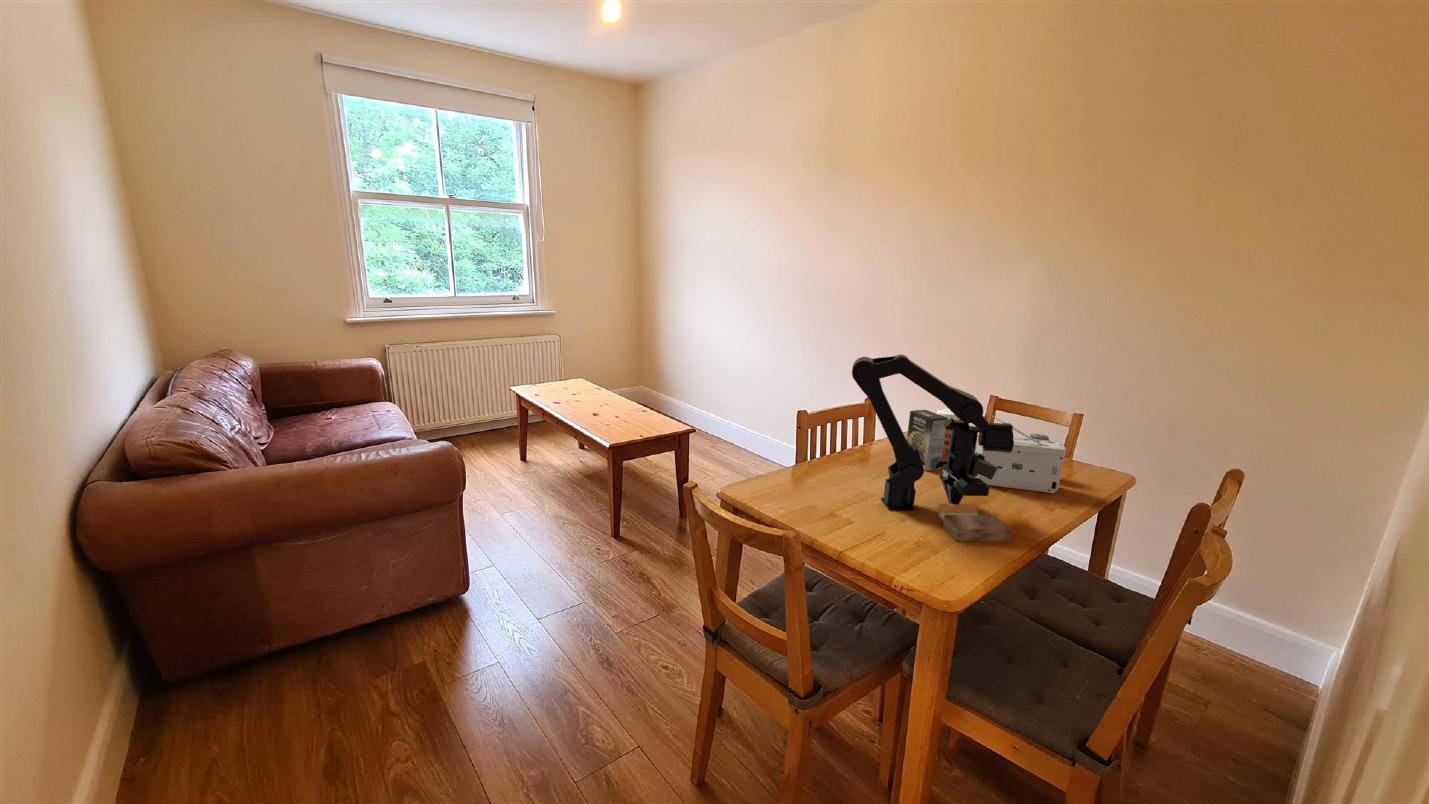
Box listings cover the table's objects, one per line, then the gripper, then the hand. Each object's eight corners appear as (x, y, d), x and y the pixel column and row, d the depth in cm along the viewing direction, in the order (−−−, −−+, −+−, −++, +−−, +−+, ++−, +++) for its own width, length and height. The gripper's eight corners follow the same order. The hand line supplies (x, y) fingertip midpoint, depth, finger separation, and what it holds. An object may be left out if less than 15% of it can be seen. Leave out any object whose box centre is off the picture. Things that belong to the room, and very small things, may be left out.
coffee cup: (925, 457, 179) (931, 410, 175) (937, 451, 185) (943, 406, 181) (951, 464, 173) (958, 416, 169) (963, 458, 179) (969, 412, 175)
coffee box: (902, 461, 174) (909, 410, 170) (918, 459, 177) (925, 408, 173) (925, 471, 166) (932, 418, 162) (941, 468, 169) (948, 416, 165)
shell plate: (952, 530, 131) (954, 518, 130) (937, 515, 138) (939, 503, 138) (990, 530, 131) (992, 518, 130) (973, 515, 139) (975, 503, 138)
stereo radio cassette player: (1051, 485, 159) (1064, 416, 154) (1060, 496, 152) (1074, 424, 147) (971, 475, 165) (981, 408, 160) (975, 486, 157) (986, 416, 152)
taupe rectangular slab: (956, 541, 125) (957, 528, 124) (942, 526, 132) (944, 514, 131) (1009, 541, 126) (1011, 529, 125) (993, 527, 132) (995, 515, 132)
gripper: (1017, 461, 127) (1006, 526, 131) (975, 436, 145) (966, 493, 149) (968, 461, 126) (958, 525, 130) (932, 435, 144) (925, 492, 148)
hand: (953, 508), depth 139 cm, fingers closed
